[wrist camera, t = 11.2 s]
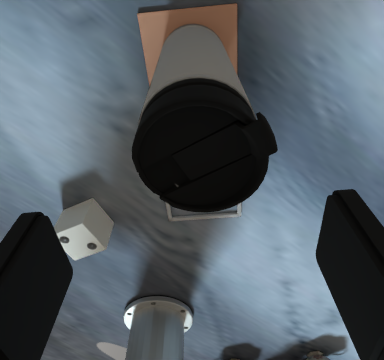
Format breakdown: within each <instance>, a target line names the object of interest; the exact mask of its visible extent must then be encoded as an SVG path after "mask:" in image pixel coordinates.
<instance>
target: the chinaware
mask: <svg viewBox="0 0 384 360" xmlns="http://www.w3.org/2000/svg"><path fill="white" fill-rule="evenodd" d="M322 354H323V353H321V352H319V351H314V352H310V353H309V354H308V355H307V357H308V358H307V359H306V360H330V359H329V358H327V357H325V356H323V355H322ZM230 360H240V359H232V358H231V359H230Z"/></svg>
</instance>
